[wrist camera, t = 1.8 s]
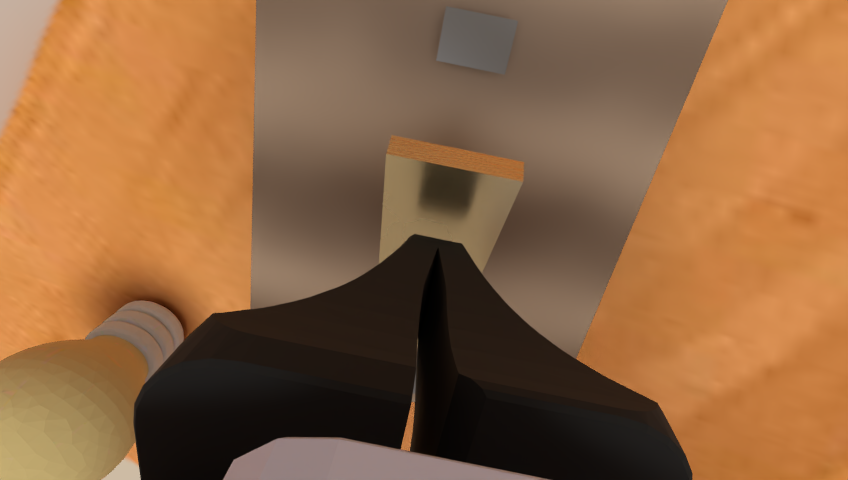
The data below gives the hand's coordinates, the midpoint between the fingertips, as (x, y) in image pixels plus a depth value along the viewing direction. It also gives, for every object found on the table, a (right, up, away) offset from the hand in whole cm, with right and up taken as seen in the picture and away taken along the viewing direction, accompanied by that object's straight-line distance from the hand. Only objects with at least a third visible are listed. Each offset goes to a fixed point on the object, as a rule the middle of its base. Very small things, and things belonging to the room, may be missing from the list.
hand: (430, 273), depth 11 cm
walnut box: (+1, +3, +9) cm, 10 cm away
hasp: (0, 0, +3) cm, 3 cm away
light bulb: (-15, -4, +14) cm, 21 cm away
